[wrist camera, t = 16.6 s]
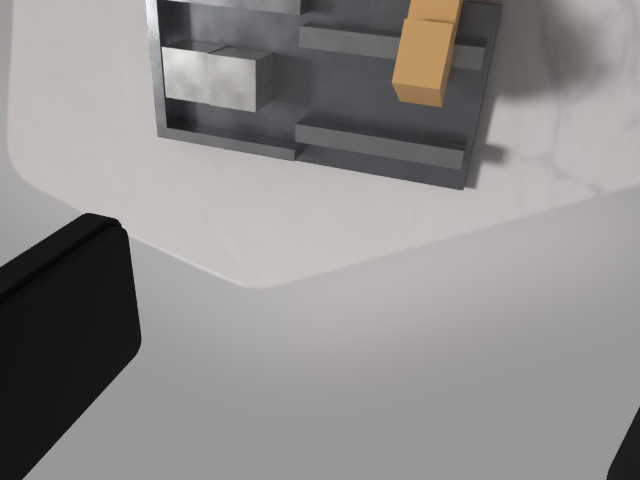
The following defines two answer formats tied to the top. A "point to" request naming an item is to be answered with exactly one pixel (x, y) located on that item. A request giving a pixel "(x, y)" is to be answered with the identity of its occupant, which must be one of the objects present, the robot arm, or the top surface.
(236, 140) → the slot board
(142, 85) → the top surface
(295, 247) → the top surface
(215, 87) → the grey cube
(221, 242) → the top surface
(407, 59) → the tan stepped beam
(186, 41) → the chip
